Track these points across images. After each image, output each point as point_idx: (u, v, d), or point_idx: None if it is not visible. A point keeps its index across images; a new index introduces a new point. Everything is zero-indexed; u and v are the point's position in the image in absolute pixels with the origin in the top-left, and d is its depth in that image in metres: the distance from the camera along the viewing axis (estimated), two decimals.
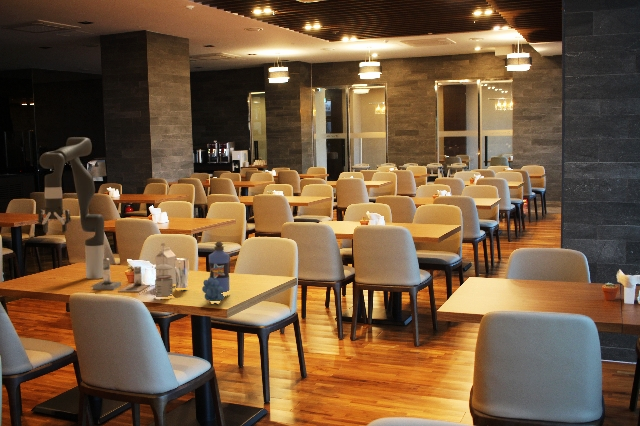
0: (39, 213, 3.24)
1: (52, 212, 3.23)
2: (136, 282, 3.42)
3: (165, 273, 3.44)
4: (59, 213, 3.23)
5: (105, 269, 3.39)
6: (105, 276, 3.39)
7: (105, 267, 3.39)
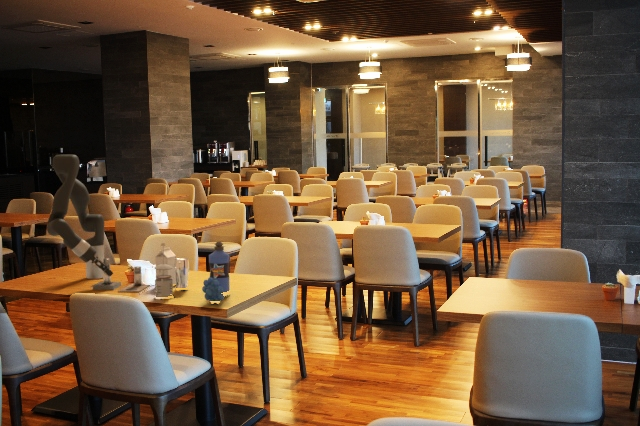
0: None
1: (93, 261, 3.38)
2: (136, 282, 3.42)
3: (165, 273, 3.44)
4: (96, 264, 3.35)
5: None
6: (105, 276, 3.39)
7: None
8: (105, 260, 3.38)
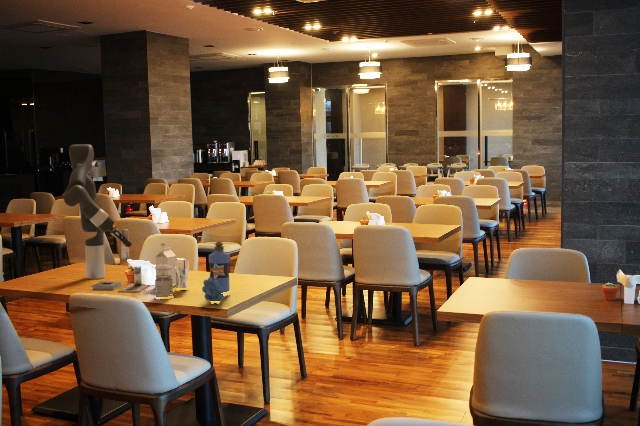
0: None
1: (111, 232, 3.30)
2: (136, 282, 3.42)
3: (165, 273, 3.44)
4: (114, 234, 3.28)
5: None
6: (123, 247, 3.31)
7: None
8: (123, 231, 3.31)
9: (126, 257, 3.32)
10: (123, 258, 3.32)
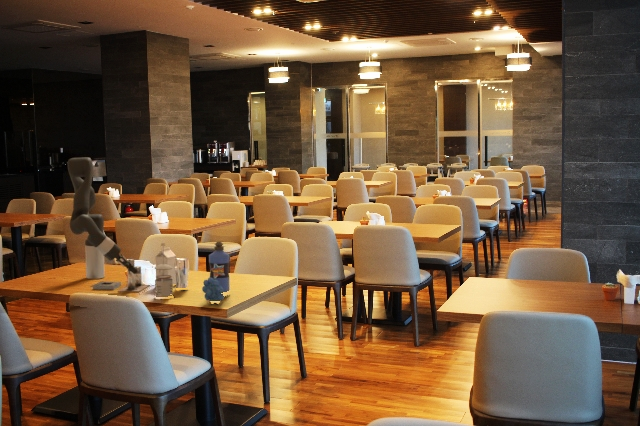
0: None
1: (117, 259, 3.31)
2: (136, 282, 3.42)
3: (165, 273, 3.44)
4: None
5: None
6: (129, 277, 3.32)
7: None
8: (129, 261, 3.32)
9: (132, 287, 3.33)
10: (129, 288, 3.33)
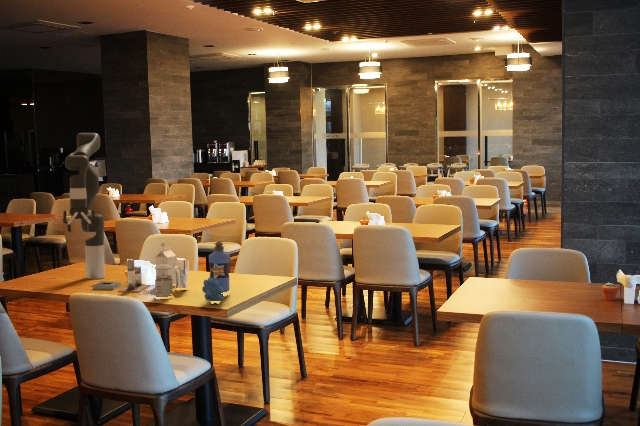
0: (64, 214, 3.33)
1: (78, 212, 3.36)
2: (136, 282, 3.42)
3: (165, 273, 3.44)
4: (85, 213, 3.37)
5: (129, 270, 3.32)
6: (129, 277, 3.32)
7: (129, 268, 3.32)
8: (129, 261, 3.32)
9: (132, 287, 3.33)
10: (129, 288, 3.33)
